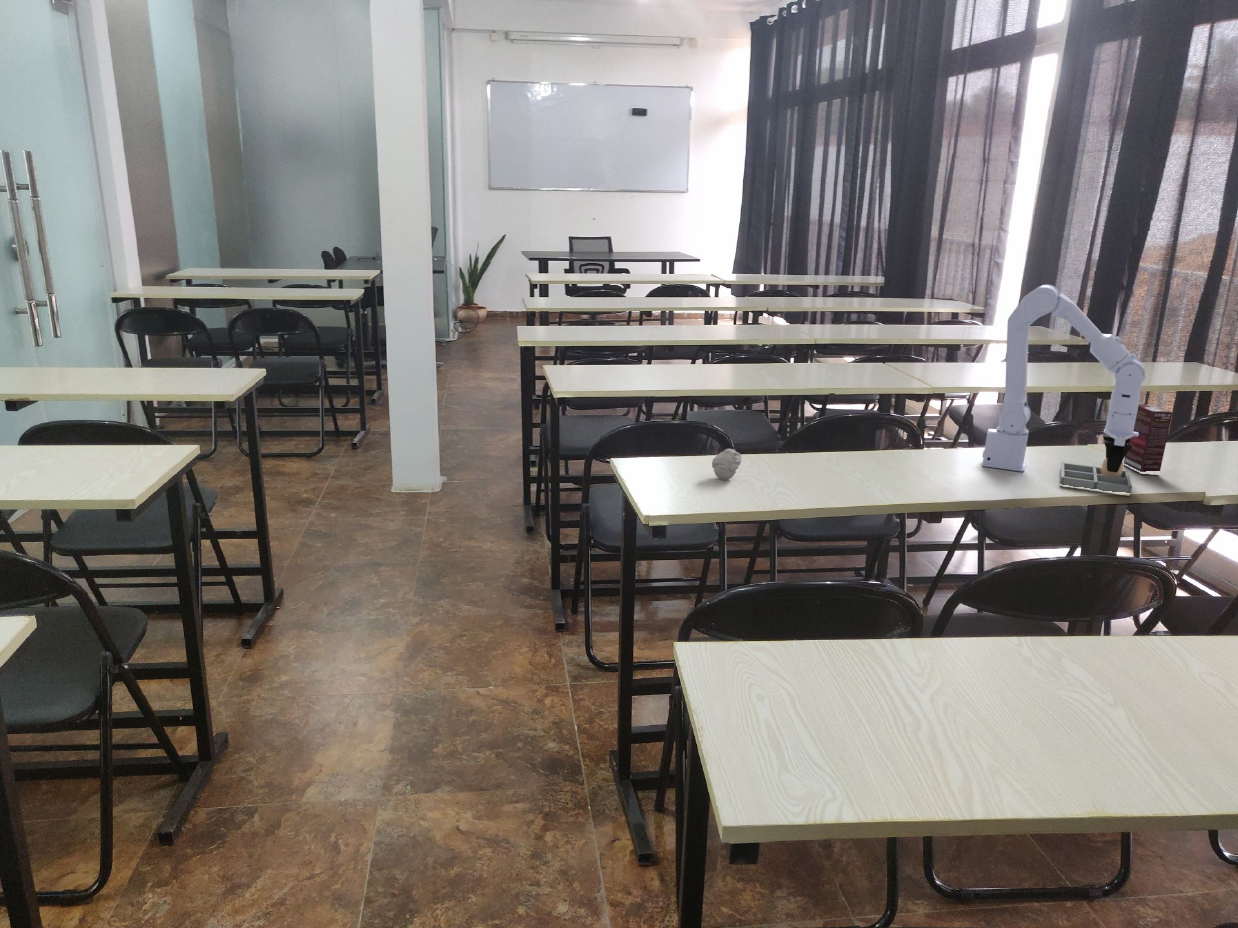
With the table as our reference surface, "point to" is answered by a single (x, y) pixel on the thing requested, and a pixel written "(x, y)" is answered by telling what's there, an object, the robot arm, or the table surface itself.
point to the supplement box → (1148, 438)
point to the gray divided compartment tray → (1093, 478)
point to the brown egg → (1105, 472)
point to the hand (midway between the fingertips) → (1111, 468)
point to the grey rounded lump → (726, 464)
